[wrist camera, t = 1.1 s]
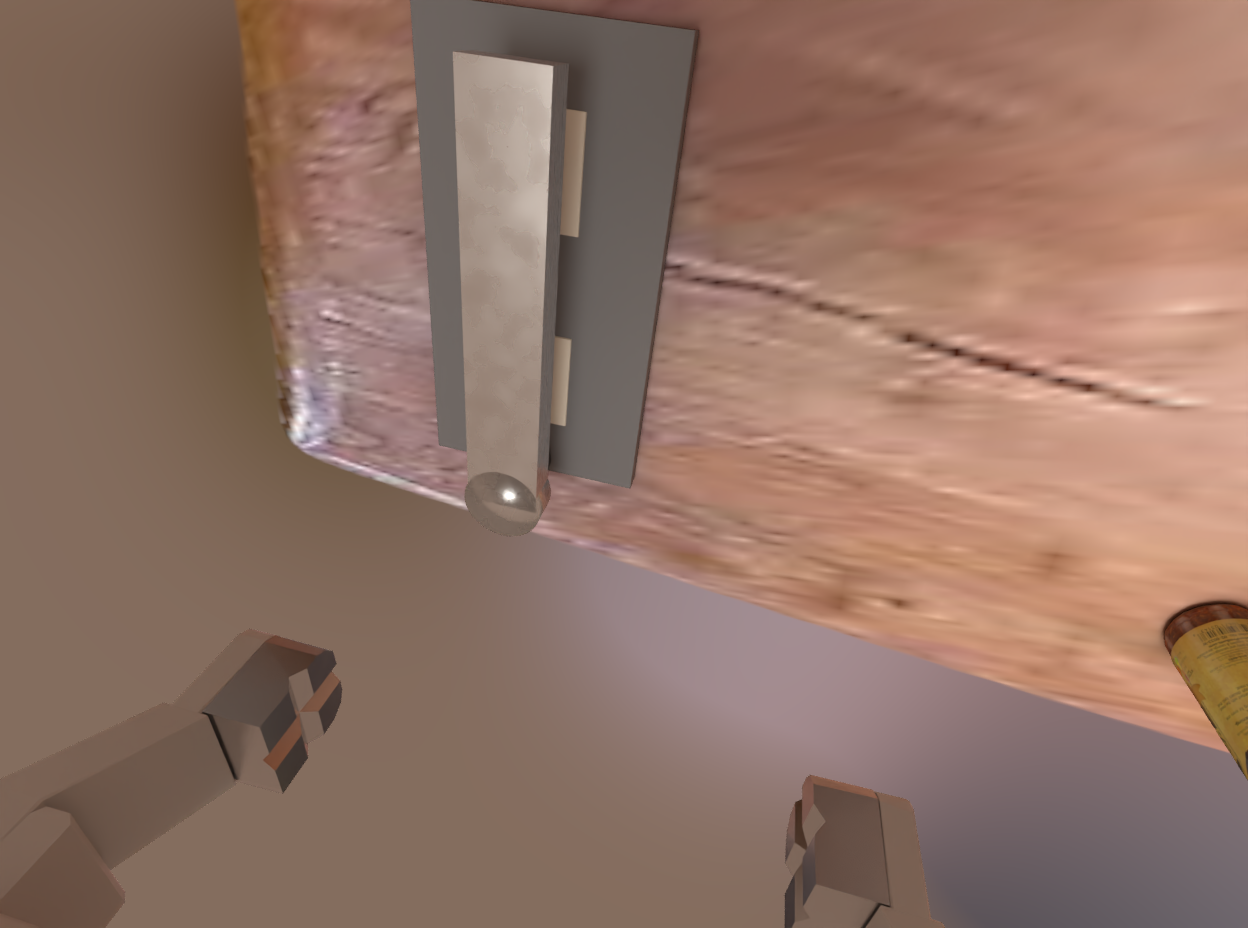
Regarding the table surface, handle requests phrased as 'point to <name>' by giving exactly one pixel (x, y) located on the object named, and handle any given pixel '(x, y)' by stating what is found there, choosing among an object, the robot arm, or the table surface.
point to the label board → (568, 212)
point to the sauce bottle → (1216, 669)
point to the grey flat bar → (508, 276)
